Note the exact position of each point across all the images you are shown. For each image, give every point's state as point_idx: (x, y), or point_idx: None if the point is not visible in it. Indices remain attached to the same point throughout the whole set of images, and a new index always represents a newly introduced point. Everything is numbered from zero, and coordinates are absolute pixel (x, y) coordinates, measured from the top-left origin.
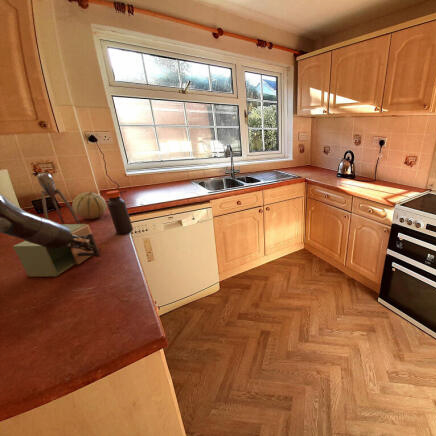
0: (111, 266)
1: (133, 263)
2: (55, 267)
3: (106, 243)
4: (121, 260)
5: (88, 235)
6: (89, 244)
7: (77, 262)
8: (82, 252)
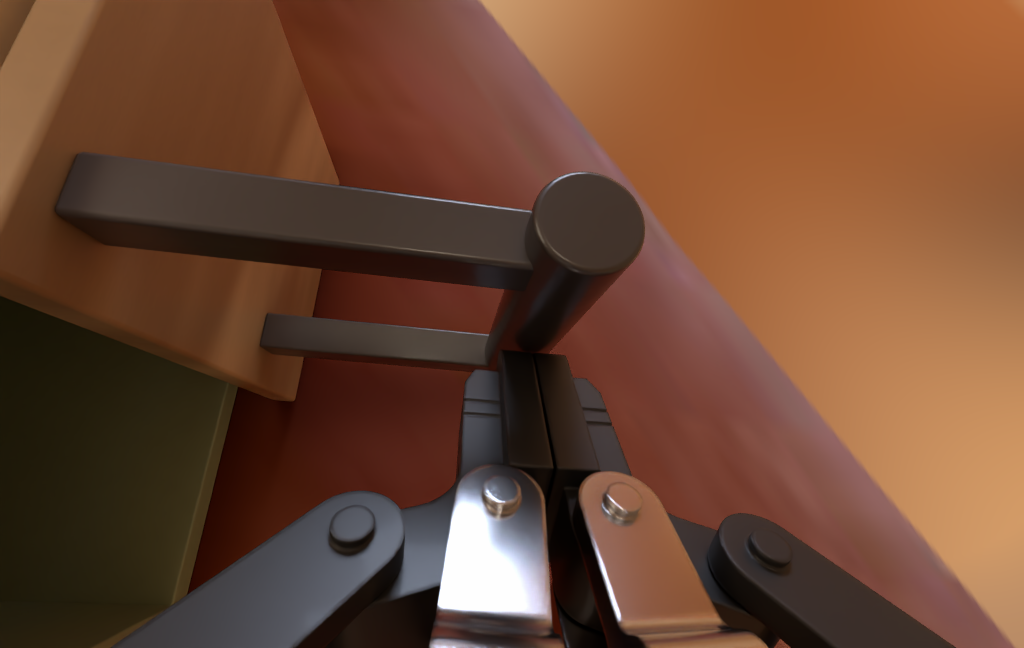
0: (651, 458)
1: (812, 423)
2: (60, 469)
3: (319, 27)
4: (670, 357)
5: (604, 279)
6: (620, 451)
7: (282, 398)
8: (313, 321)
